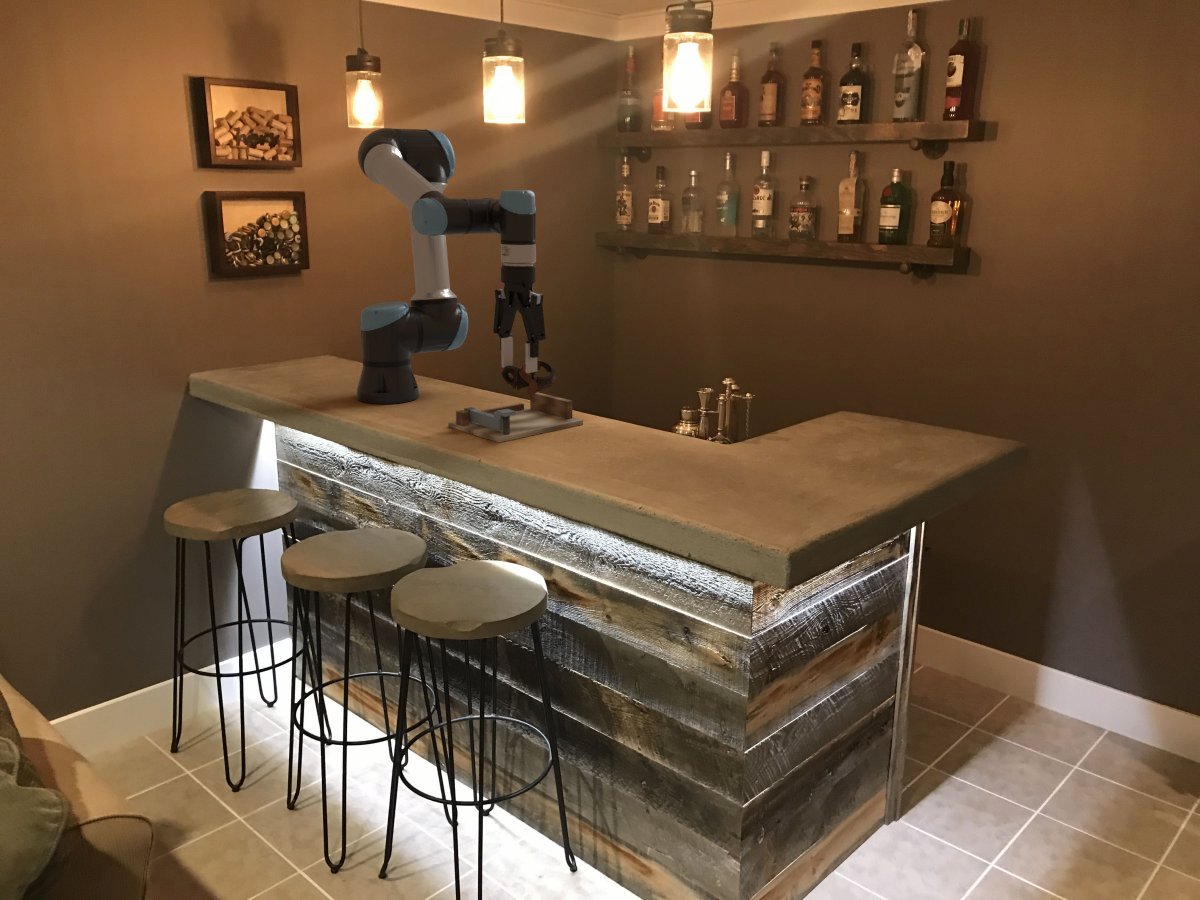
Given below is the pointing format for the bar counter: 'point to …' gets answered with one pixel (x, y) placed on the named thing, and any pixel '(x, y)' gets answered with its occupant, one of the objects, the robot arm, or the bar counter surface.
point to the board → (523, 419)
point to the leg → (489, 417)
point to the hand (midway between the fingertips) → (519, 369)
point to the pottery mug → (529, 377)
